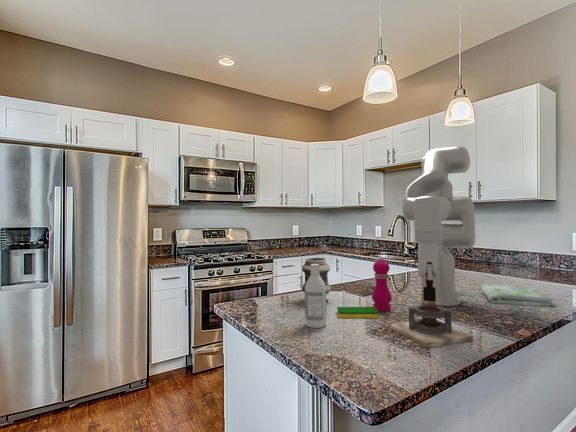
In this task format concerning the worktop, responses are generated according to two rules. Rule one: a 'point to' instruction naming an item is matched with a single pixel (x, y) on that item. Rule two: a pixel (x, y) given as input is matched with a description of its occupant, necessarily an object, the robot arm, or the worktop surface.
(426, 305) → the tan cylinder
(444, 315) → the collar stand
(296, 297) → the worktop surface
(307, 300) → the bath foam
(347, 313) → the dish sponge
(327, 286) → the apothecary jar
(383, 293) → the pepper mill
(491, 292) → the towel
